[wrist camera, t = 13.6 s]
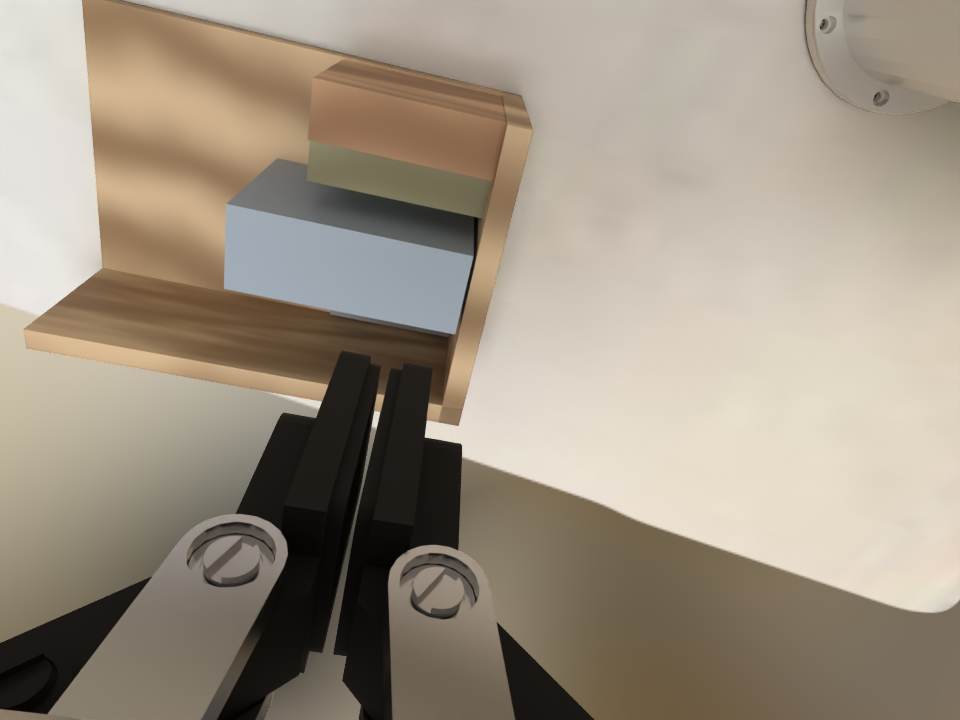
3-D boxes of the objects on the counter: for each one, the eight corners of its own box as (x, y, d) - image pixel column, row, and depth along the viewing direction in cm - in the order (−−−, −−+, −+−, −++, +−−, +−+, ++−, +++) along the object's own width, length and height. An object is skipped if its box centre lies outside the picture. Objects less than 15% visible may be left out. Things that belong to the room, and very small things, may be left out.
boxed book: (277, 158, 39) (226, 203, 31) (474, 201, 40) (473, 256, 32) (272, 229, 41) (223, 288, 33) (459, 268, 42) (455, 334, 34)
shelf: (96, -6, 36) (-27, 0, 27) (521, 95, 38) (533, 130, 30) (115, 275, 44) (26, 348, 35) (462, 342, 47) (458, 425, 38)
